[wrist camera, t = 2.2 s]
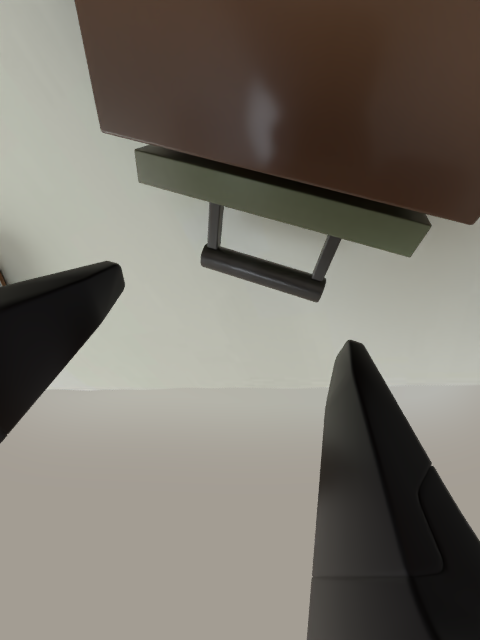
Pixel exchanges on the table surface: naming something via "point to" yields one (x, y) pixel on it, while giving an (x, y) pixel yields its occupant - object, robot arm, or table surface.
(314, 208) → the drawer
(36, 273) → the table surface
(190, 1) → the cabinet
